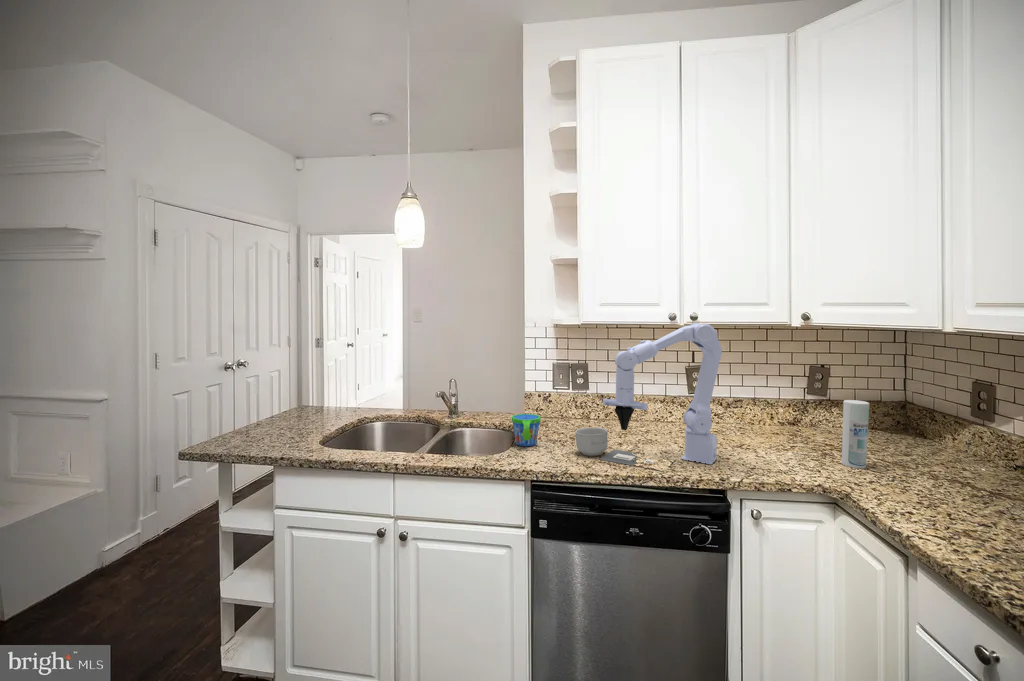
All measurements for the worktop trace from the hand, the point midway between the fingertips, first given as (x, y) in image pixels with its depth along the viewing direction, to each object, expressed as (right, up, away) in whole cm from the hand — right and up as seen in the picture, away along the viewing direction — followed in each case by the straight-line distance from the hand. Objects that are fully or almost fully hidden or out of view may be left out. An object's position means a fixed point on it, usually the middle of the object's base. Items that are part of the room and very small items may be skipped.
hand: (624, 429), depth 155 cm
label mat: (+4, -10, -2) cm, 10 cm away
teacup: (-9, -9, +6) cm, 14 cm away
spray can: (+70, -10, -7) cm, 71 cm away
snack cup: (-32, -9, +16) cm, 37 cm away
